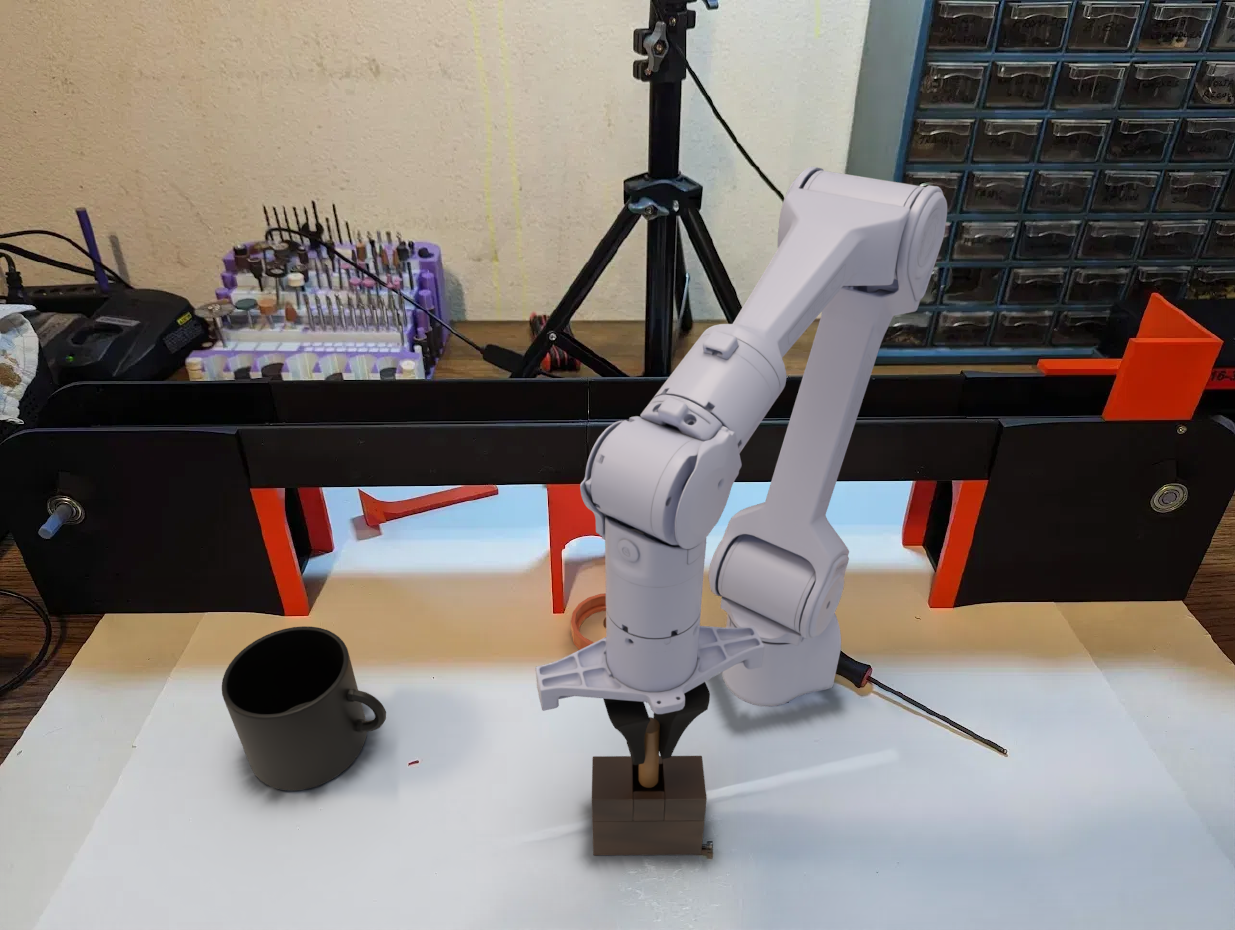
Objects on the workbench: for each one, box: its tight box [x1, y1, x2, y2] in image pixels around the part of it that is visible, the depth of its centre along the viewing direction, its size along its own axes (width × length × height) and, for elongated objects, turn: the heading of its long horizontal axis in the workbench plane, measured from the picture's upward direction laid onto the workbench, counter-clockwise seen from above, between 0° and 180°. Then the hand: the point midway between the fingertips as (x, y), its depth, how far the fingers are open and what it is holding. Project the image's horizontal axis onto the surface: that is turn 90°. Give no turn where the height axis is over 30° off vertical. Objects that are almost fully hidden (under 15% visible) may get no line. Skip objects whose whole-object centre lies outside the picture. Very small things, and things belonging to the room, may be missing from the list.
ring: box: [570, 592, 606, 651], centre depth 77 cm, size 7×7×3 cm
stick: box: [639, 716, 660, 788], centre depth 56 cm, size 1×1×6 cm
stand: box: [591, 755, 708, 856], centre depth 59 cm, size 8×4×7 cm, turn 90°
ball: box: [602, 616, 606, 629], centre depth 78 cm, size 2×2×2 cm
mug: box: [221, 625, 387, 791], centre depth 65 cm, size 9×12×9 cm
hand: (648, 749), depth 56 cm, fingers closed on stick, 1 cm apart
